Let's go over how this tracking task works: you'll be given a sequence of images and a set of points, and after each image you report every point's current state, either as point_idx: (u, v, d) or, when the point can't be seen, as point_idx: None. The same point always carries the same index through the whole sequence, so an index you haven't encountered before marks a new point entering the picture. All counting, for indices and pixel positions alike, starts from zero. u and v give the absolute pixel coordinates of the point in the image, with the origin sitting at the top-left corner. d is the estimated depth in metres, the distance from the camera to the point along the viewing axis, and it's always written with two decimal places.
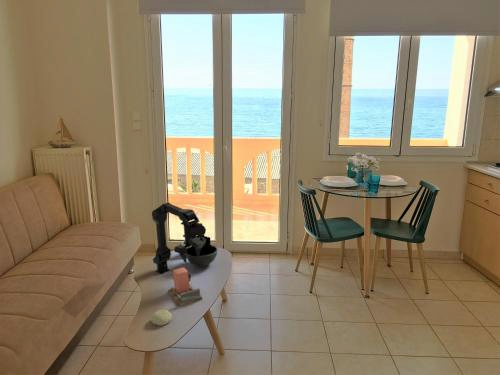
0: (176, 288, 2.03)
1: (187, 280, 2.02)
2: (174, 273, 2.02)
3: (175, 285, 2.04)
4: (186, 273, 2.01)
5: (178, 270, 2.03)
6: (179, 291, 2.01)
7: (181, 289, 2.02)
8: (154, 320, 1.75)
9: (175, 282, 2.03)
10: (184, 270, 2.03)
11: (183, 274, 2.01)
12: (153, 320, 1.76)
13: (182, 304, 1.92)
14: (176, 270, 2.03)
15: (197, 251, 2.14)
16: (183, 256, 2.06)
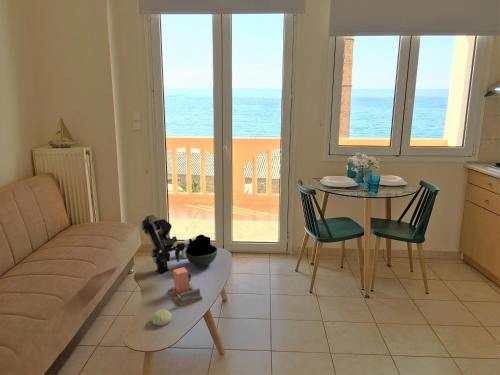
0: (176, 288, 2.03)
1: (187, 280, 2.02)
2: (174, 273, 2.02)
3: (175, 285, 2.04)
4: (186, 273, 2.01)
5: (178, 270, 2.03)
6: (179, 291, 2.01)
7: (181, 289, 2.02)
8: (154, 320, 1.75)
9: (175, 282, 2.03)
10: (184, 270, 2.03)
11: (183, 274, 2.01)
12: (153, 320, 1.76)
13: (182, 304, 1.92)
14: (176, 270, 2.03)
15: (176, 256, 2.15)
16: (162, 258, 2.11)
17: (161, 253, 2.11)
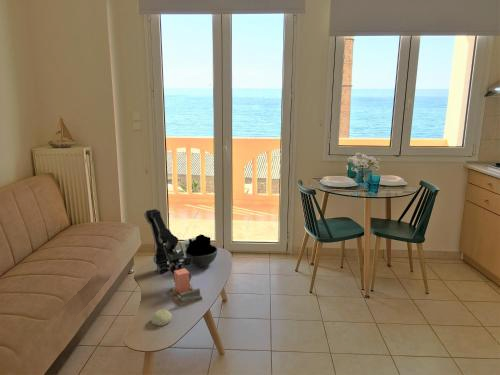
0: (177, 289, 2.02)
1: (188, 281, 2.01)
2: (175, 274, 2.01)
3: (176, 286, 2.03)
4: (187, 274, 2.00)
5: (179, 271, 2.02)
6: (180, 292, 2.00)
7: (182, 290, 2.00)
8: (154, 320, 1.75)
9: (176, 283, 2.02)
10: (185, 271, 2.01)
11: (184, 275, 1.99)
12: (153, 320, 1.76)
13: (182, 304, 1.92)
14: (177, 271, 2.02)
15: None
16: None
17: (173, 266, 2.05)
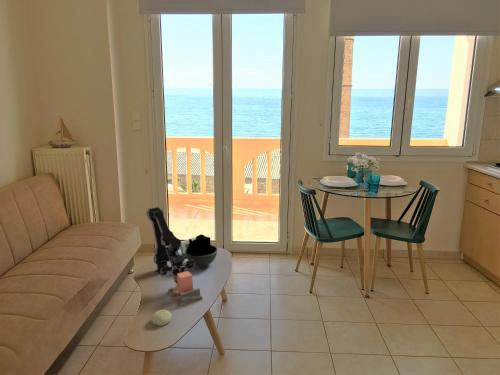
0: (180, 292, 1.98)
1: (191, 284, 1.98)
2: (178, 277, 1.98)
3: (179, 289, 1.99)
4: (190, 277, 1.97)
5: (182, 274, 1.99)
6: None
7: None
8: (154, 320, 1.75)
9: (179, 286, 1.98)
10: (188, 274, 1.98)
11: (187, 278, 1.96)
12: (153, 320, 1.76)
13: (182, 304, 1.92)
14: (180, 274, 1.98)
15: None
16: None
17: (176, 269, 2.02)
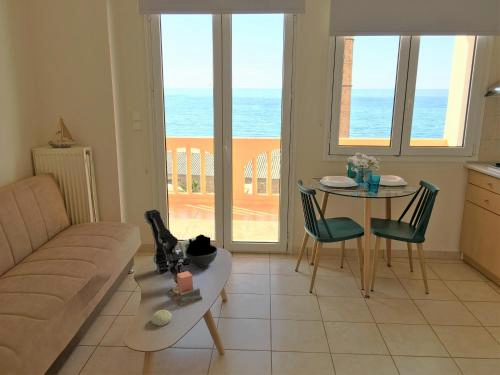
0: (180, 292, 1.98)
1: (191, 284, 1.98)
2: (178, 277, 1.98)
3: (179, 289, 1.99)
4: (190, 277, 1.97)
5: (182, 274, 1.98)
6: None
7: None
8: (154, 320, 1.75)
9: (179, 286, 1.98)
10: (188, 274, 1.98)
11: (187, 279, 1.96)
12: (153, 320, 1.76)
13: (182, 304, 1.92)
14: (180, 274, 1.98)
15: (177, 273, 2.08)
16: (174, 272, 2.07)
17: (173, 267, 2.06)
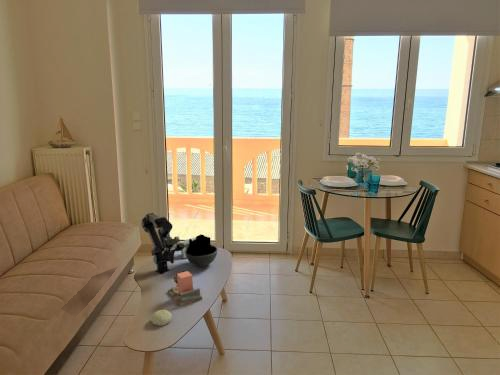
0: (180, 292, 1.98)
1: (191, 284, 1.98)
2: (178, 277, 1.98)
3: (179, 289, 1.99)
4: (190, 277, 1.97)
5: (182, 274, 1.98)
6: None
7: None
8: (154, 320, 1.75)
9: (179, 286, 1.98)
10: (188, 274, 1.98)
11: (187, 279, 1.96)
12: (153, 320, 1.76)
13: (182, 304, 1.92)
14: (180, 274, 1.98)
15: None
16: (168, 256, 2.13)
17: (168, 251, 2.12)
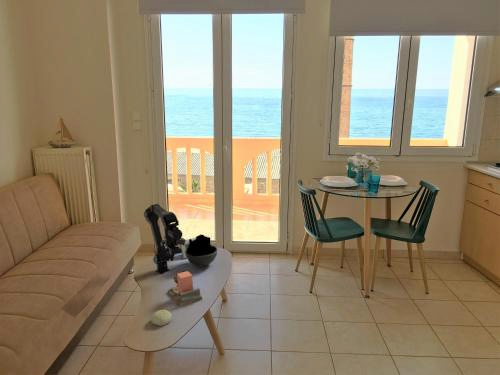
0: (180, 292, 1.98)
1: (191, 284, 1.98)
2: (178, 277, 1.98)
3: (179, 289, 1.99)
4: (190, 277, 1.97)
5: (182, 274, 1.98)
6: None
7: None
8: (154, 320, 1.75)
9: (179, 286, 1.98)
10: (188, 274, 1.98)
11: (187, 279, 1.96)
12: (153, 320, 1.76)
13: (182, 304, 1.92)
14: (180, 274, 1.98)
15: (171, 255, 2.17)
16: (172, 254, 2.15)
17: None
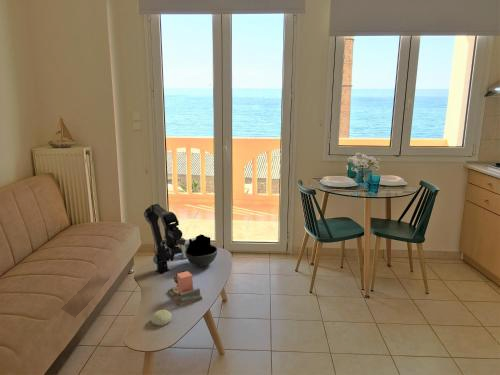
0: (180, 292, 1.98)
1: (191, 284, 1.98)
2: (178, 277, 1.98)
3: (179, 289, 1.99)
4: (190, 277, 1.97)
5: (182, 274, 1.98)
6: None
7: None
8: (154, 320, 1.75)
9: (179, 286, 1.98)
10: (188, 274, 1.98)
11: (187, 279, 1.96)
12: (153, 320, 1.76)
13: (182, 304, 1.92)
14: (180, 274, 1.98)
15: (171, 255, 2.17)
16: (172, 254, 2.15)
17: None
